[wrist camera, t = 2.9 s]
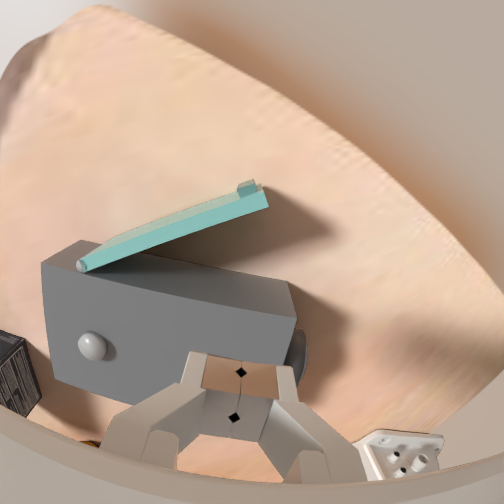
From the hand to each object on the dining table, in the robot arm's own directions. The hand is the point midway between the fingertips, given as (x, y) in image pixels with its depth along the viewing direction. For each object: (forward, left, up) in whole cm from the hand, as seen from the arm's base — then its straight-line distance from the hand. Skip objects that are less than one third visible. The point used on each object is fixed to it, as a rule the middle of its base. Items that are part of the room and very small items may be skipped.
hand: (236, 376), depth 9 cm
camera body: (+4, +10, -19) cm, 22 cm away
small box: (+27, +24, -19) cm, 41 cm away
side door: (+6, 0, -19) cm, 20 cm away
